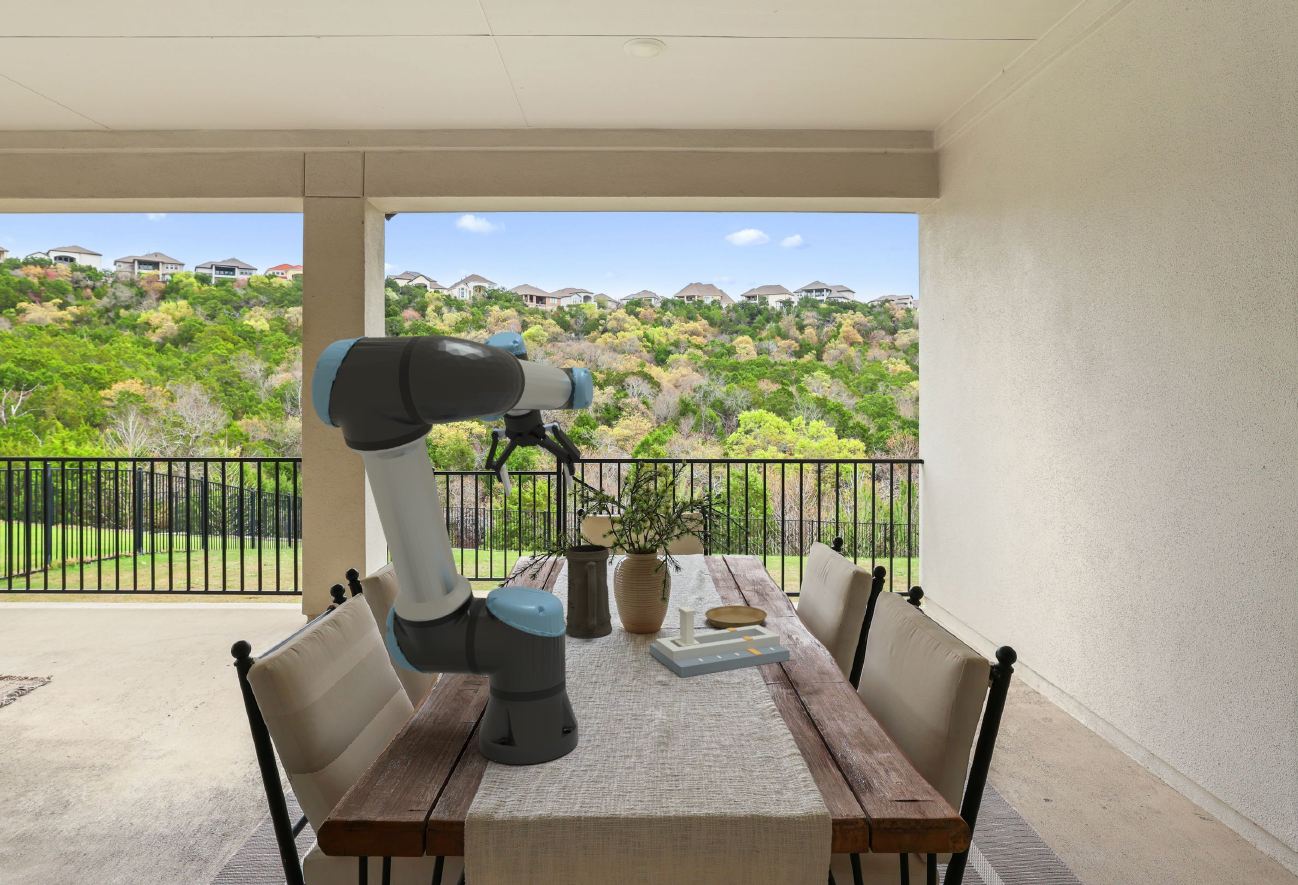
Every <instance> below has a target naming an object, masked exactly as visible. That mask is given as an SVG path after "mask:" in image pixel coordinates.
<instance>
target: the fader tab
mask: <svg viewBox="0 0 1298 885" xmlns="http://www.w3.org/2000/svg"><path fill="white" fill-rule="evenodd" d="M678 613H679V629H680V631H679V633H680V634H679V636H680V640H674V644H675V645H676V646H678V647H684V646H690V645H697V644H700V643H699V642H698V641H696V640H694V634H695V615H696V610H695V609H693V608H691V607H689V606H681V607H678Z"/></svg>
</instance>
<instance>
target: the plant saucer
mask: <svg viewBox="0 0 1298 885" xmlns="http://www.w3.org/2000/svg"><path fill="white" fill-rule="evenodd" d="M704 615H705V617H706V619H707V620H708V621H709V622H710V623H711V624H712V625H713V626H714V627H716V628H719V629H721V630H725V629H727V628H739V627H746V626H754V625H760V626H761V624H762V623H763V622H764V621H765V620H766V618H767V617H768V612H767V611H765V610H764V609H761V608H758V607H754V606H747V605H723V606H717V607H712V608H710V609H708V610H705V612H704Z"/></svg>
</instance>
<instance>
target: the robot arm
mask: <svg viewBox="0 0 1298 885" xmlns="http://www.w3.org/2000/svg"><path fill="white" fill-rule="evenodd" d="M593 380H594V379H593V377H592V373H591V371H590V370H589V369H588V368H586V367H575V366H571V367H559V366H553V365H549V364H543V363H538V362H535V361H530V360H529V355H528V350H527V347H526V344H525V341H524V338H523V337H522V335H521V334H519V333H518V332H514V331H503V332H502V331H501V332H499V333H495V334H493V335H491V336H489V337H488V338H487V339H486V340H485V342H484V343H482V342H479V341H474V340H470V339H465V338H461V337H457V336H450V335H444V334H439V335H438V334H428V335H426V334H425V335H412V336H411V335H408V336H407V335H406V336H386V337H385V336H383V337H382V336H379V337H377V336H376V337H372V336H371V337H368V336H360V337H357V338H347V339H341V340H339V339H338V340H337V341H333V342H332V343H331V344H329V345H328V346H327V347H326V348H324V349H323V351H322V353H321V354H320V355H319V357H318V359H317V361H316V363H315V368H314V371H313V373H312V379H311V389H310V390H311V400H312V405H313V409H314V411H315V414H316V416H317V417H318V419H319V420H320V421H321V422H323V423H324V424H325V425H326V426H329V427H332V428H334V429H337V428H338V429H339V428H340V429H341V431H342V435H343V439H344V442H345V445H346V446H345V447H347V449H349V450H350V451H353V452H355V453H357V454H359V455H361V457H362V461H363V465H364V468H365V473H366V475H367V478H368V482H369V486H370V490H371V492H372V496H373V500H374V503H375V506H376V507H375V508H376V510H377V513H378V517H379V520H380V524H381V525H380V526H381V529H382V531H383V534H384V538H385V542H386V545H387V548H388V552H389V556H390V560H391V563H392V566H393V569H394V573H395V577H396V580H397V584H398V586H399V591H398V593H397V594H396V596H395V598H394V600H393V604H392V605H391V607H390V609H389V610H388V613H387V618H386V622H385V627H386V629H387V632H385V641H386V646H387V651H388V653H389V655H390V657H391V658H392V660H393V661H394V662H395V664H396V665H397V666H398V667H400V668H401V669H403V670H405V671H409V672H418V673H420V674H429V675H431V674H432V675H433V674H446V675H447V674H448V675H449V674H450V675H451V674H452V675H453V674H454V675H471V676H472V675H476V676H487V677H488V678H489V679H488V681H489V698H488V700H487V705H486V708H485V712H484V715H483V718H482V722H481V725H480V728H479V734H478V742H479V743H478V744H479V746H478V747H479V748H478V749H479V751H480V753H481V755H483V757H486V758H487V759H489V760H491V761H493V760H496V761H495V762H498V763H502V764H509V765H531V764H538V763H544V762H549V761H551V760H555V759H557V758H560V757H563V756H565V755H566V754H568V753H569V752H571V751H572V750H573V749H574V748H576V746H577V745H578V743H579V737H580V736H579V724H578V720H577V717H576V714H575V711H574V709H573V706H572V704H571V700H570V697H569V695H568V690H567V672H566V670H567V668H566V667H567V666H566V663H567V662H566V626H567V624H566V622H565V609H564V604H563V602H562V600H561V599H560V598H559V597H558V596H556V595H554V594H553V593H551V592H549V591H547V590H544V589H539V588H535V587H528V586H514V587H511V586H504V587H498V588H494V589H493V590H490V591H489V592H488V594H487V596H486V597H476V596H474V593H473V590H472V584H471V582H470V580H469V579H468V578H467V577H466V576H464V575H462V574H460V573H458V570H457V566H456V561H455V558H454V554H453V549H452V546H451V542H450V536H449V533H448V529H447V528H448V527H447V525H446V524H447V523H446V520H445V517H444V512H443V509H442V508H443V507H442V504H441V500H440V495H439V491H438V487H437V483H436V479H435V474H434V471H433V467H432V463H431V458H430V455H429V450H428V446H427V442H426V439H427V438H428V436H429V435H430V434H431V432H432V431H433V429H434V425H444V424H445V425H446V424H452V423H460V422H464V421H469V420H474V419H478V420H481V421H484V422H486V423H487V422H489V423H490V422H496V421H498V420H500V419H502V418H503V423H504V426H505V428H500V426H497V425H495V426H493V428H492V431H491V440H492V443H491V446H490V447H489V448H490V449H489V452H488V456H487V457H486V461H485V462H486V463H485V465H484V469H485V470H486V471H490V470H493V471H494V472H495V476H496V479H497V482H498V483H502V484H503V488H504V492H505V496H506V497H510V496H511V493H512V490H513V487H512V483H511V481H510V480H511V479H510V476H509V472H508V469H507V466H506V464H505V463H506V461H507V460H508V459H509V457H510V456H511V454H512V453H513V452H514V451H515V450H516V448H517V447H520V448H521V449H522V448H526V447H532V448H533V447H537V446H539V447H540V448H541V449H546V450H547V451H548V452H549V453H551V454H552V455H553V456H555V457H556V458H558V459H559V460H561V461H562V462H563V470H564V476H565V479H566V483H567V484H566V485H567V488H568V491H573V487H574V481H573V477H574V476H575V475H576V474H575V473H576V467H575V462H576V463H577V462H580V461H581V455H582V454H581V451H580V449H579V448H578V447H577V446H576V444H574V442H573V441H572V440H571V438H569V436H568V435H567V434H566V433H565V432H564V430H562V428H561V425H560V422H559V420H556V419H555V420H553V421H552V423H547V424H546V423H545V422H543V417H542V413H541V411H554V410H555V411H562V410H563V411H564V410H565V411H569V410H571V411H576V410H583V409H584V410H585V409H588V408H590V407H591V405H592V402H593V399H594V381H593ZM546 432H549V433H550V435H551V436H553V437H554V438H555V440H556V441H557V442H558V443H557V442H555V441H554V440H553V439H552V438H550V436H549V435H548V434H547V433H546ZM504 436H505V437H506V438H507V439H509V442H508V444H506V446H505V447H504V449H503V451H502V452H501V453H500V455H499V457H498V458H497V459H496V460H494V458H495V456H496V452H497V449H498V446H499V442H500V440H502V439H503V437H504Z"/></svg>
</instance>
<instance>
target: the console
mask: <svg viewBox="0 0 1298 885" xmlns="http://www.w3.org/2000/svg"><path fill="white" fill-rule="evenodd" d="M674 640H680V635H675V636H669V637H661V638H656V639H655V642H654V643H649V654H650V655H651V656H653V657H654V658H655V659H657V660H658V661H659V662H660V663H662V664H663V665H664V666H666V667H667V669H670V671H672V672H673V673H674V674H676V675H677V676H679V677H680V678H682V679H683V678H688V677H694V676H701V675H706V674H712V673H718V672H719V673H720V672H724V671H729V670H731V671H732V670H738V669H744V668H751V667H755V666H762V665H769V664H773V663H781V662H785V661H790V658H791V657H790V656H791V655H790V654H791V653H790V650H789V649H787V648H786V647H784V646H782V645H781V636H780V635H779V634H777V633H775V632H774V631H771V630H769V629H767V628H765V627H763V626H761V624H760V625H754V626H746V627H739V628H727V629H720V630H711V631H705V632H698V633H694V640H696V641H698V642H699V643H700V644H697V645H690V646H684V647H678V646H676V645H675V644H674Z"/></svg>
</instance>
